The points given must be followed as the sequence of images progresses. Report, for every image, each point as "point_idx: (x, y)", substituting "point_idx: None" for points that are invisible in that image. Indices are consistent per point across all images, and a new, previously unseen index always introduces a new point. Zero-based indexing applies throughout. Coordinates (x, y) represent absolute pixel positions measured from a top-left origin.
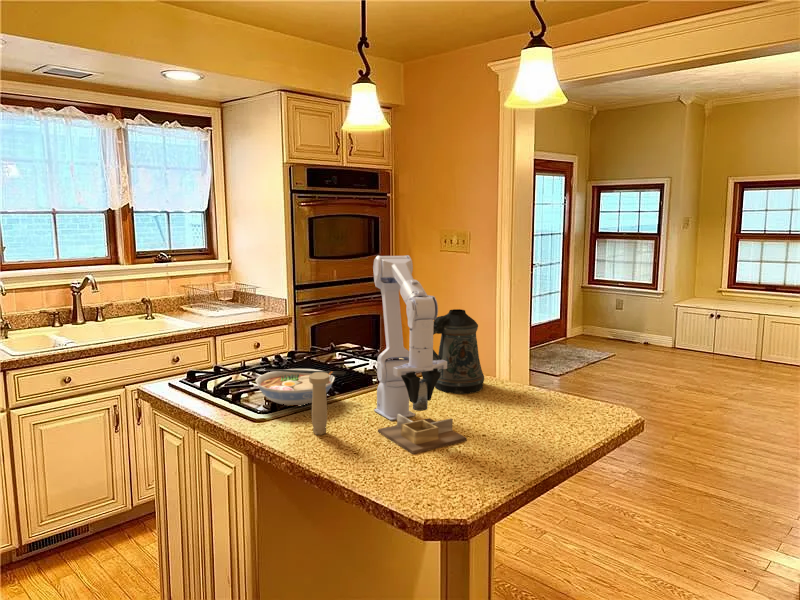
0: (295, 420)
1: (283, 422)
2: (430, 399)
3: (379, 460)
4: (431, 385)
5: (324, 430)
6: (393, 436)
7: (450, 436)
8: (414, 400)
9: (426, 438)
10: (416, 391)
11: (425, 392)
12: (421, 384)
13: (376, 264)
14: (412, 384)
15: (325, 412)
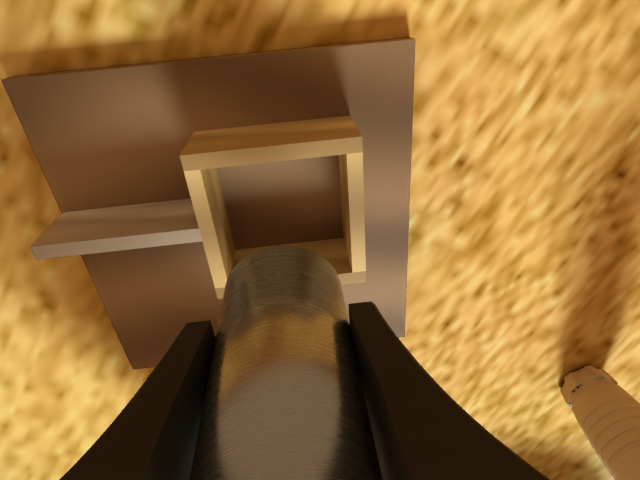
0: (565, 468)
1: (602, 464)
2: (187, 326)
3: (601, 42)
4: (150, 453)
5: (582, 379)
6: (392, 250)
7: (104, 138)
8: (381, 316)
9: (278, 128)
10: (396, 383)
11: (260, 369)
12: (326, 476)
13: None
14: (535, 471)
15: (637, 442)
